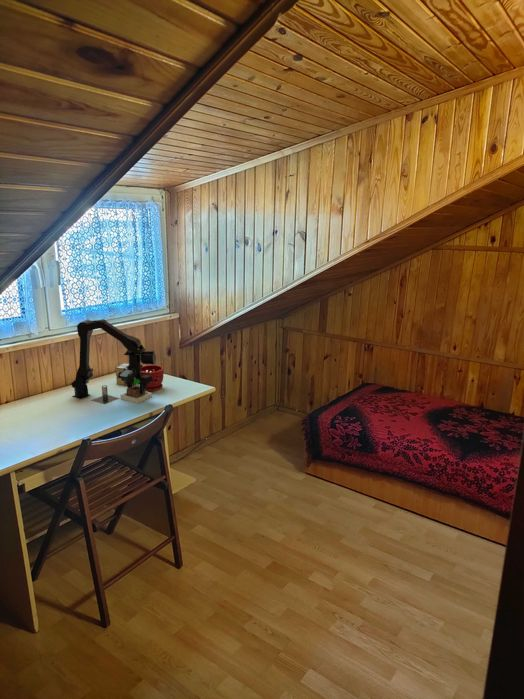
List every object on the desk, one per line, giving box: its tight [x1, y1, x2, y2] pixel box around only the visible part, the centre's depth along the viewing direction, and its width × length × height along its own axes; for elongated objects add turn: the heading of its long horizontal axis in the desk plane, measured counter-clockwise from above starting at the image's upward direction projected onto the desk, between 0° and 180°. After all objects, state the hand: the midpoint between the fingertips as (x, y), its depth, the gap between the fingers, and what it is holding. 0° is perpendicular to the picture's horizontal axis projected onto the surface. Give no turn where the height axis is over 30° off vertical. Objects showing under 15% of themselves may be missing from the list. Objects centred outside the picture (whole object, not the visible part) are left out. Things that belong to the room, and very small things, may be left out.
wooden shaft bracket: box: [126, 384, 145, 398], centre depth 236 cm, size 6×6×5 cm
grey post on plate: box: [90, 384, 121, 405], centre depth 233 cm, size 10×10×7 cm
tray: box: [120, 391, 153, 404], centre depth 237 cm, size 11×11×2 cm
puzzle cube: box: [115, 363, 139, 387], centre depth 259 cm, size 10×10×10 cm
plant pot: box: [141, 364, 165, 393], centre depth 250 cm, size 13×13×12 cm
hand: (136, 393), depth 236 cm, fingers open, 7 cm apart
